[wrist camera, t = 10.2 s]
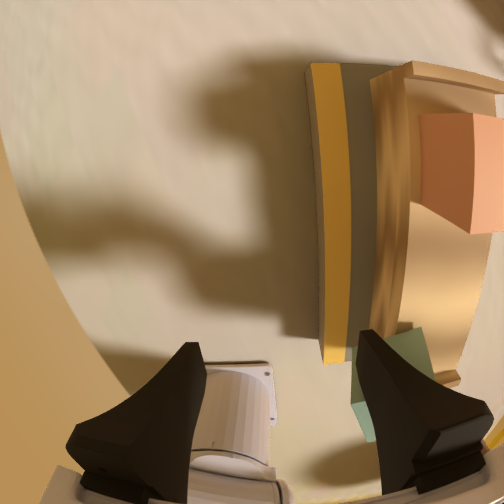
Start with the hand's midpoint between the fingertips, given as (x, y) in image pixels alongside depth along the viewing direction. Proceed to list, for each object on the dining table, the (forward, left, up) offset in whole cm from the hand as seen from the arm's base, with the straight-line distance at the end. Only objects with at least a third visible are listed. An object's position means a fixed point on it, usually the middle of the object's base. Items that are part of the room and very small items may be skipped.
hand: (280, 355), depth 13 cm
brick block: (+8, -9, -2) cm, 12 cm away
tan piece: (+3, -9, -6) cm, 11 cm away
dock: (+3, -9, -9) cm, 13 cm away
